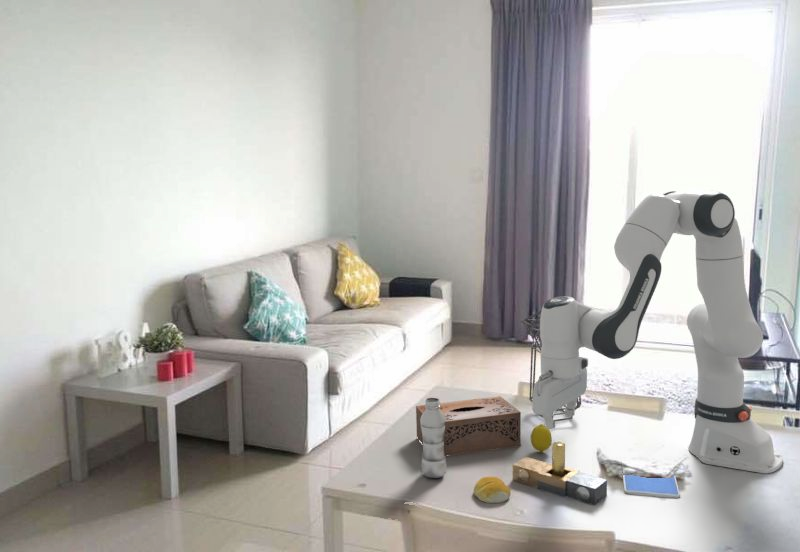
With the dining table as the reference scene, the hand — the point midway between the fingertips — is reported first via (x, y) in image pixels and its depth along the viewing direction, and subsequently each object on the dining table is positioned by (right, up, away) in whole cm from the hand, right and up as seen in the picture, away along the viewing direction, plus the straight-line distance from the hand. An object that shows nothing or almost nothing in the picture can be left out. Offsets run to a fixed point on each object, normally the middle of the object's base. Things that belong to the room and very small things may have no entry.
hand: (560, 422), depth 174 cm
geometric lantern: (+9, -9, +50) cm, 52 cm away
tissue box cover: (-19, -13, +32) cm, 40 cm away
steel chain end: (+3, -17, 0) cm, 17 cm away
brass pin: (0, -16, +3) cm, 17 cm away
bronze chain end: (-3, -16, +5) cm, 17 cm away
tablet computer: (+23, -16, +7) cm, 29 cm away
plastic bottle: (-30, -16, +11) cm, 35 cm away
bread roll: (-16, -18, 0) cm, 24 cm away
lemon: (0, -13, +24) cm, 27 cm away
